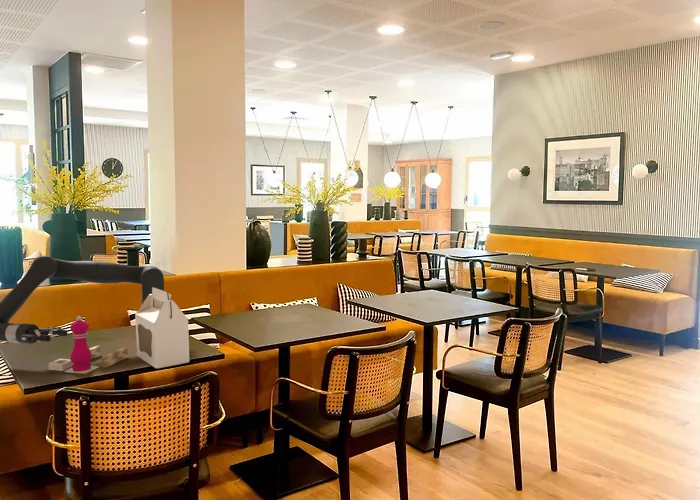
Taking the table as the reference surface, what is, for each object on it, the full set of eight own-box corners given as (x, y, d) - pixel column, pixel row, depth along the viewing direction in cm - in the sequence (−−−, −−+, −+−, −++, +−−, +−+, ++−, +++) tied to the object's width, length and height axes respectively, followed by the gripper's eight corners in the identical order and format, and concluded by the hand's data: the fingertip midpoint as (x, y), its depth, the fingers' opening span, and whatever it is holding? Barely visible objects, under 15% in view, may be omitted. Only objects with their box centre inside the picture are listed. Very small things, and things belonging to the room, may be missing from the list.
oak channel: (97, 355, 234) (97, 345, 234) (127, 357, 231) (127, 347, 230) (73, 365, 221) (73, 355, 220) (105, 367, 217) (104, 357, 217)
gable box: (189, 362, 224) (187, 291, 221) (156, 369, 215) (153, 295, 213) (168, 350, 241) (166, 284, 238) (136, 356, 233) (133, 287, 230)
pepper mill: (75, 366, 218) (72, 314, 216) (95, 365, 219) (92, 313, 217) (67, 372, 211) (64, 318, 209) (88, 371, 212) (85, 318, 210)
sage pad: (79, 365, 220) (79, 364, 220) (99, 367, 218) (99, 366, 218) (64, 372, 212) (64, 371, 212) (85, 373, 210) (85, 372, 210)
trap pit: (60, 365, 221) (60, 358, 221) (73, 366, 219) (73, 359, 219) (48, 369, 215) (48, 363, 215) (62, 370, 214) (62, 364, 213)
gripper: (6, 327, 213) (43, 330, 209) (36, 319, 226) (71, 321, 222) (7, 347, 213) (44, 350, 209) (37, 338, 227) (72, 340, 223)
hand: (58, 335), depth 216 cm, fingers open, 8 cm apart
